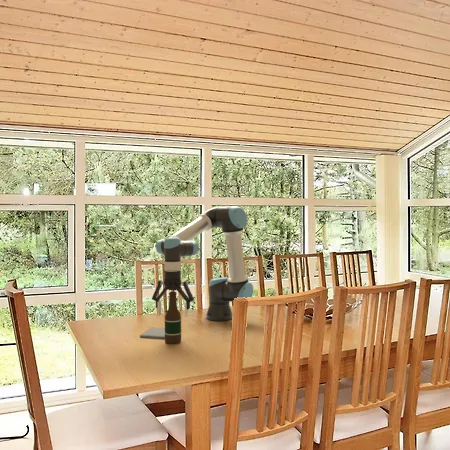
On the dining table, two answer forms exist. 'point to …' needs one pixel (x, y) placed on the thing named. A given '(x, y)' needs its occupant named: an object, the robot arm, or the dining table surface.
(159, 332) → the slate trivet
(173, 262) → the robot arm
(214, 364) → the dining table surface
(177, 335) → the beer bottle
